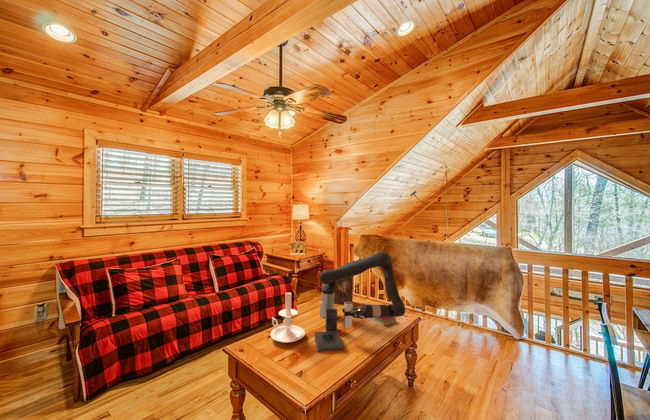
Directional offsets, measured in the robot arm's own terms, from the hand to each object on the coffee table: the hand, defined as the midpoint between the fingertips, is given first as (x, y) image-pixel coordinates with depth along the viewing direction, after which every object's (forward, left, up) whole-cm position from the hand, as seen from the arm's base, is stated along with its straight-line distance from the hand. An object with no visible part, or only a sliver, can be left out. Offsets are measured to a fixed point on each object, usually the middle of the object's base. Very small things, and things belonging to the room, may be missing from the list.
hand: (343, 312), depth 159 cm
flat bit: (-14, +8, -18) cm, 24 cm away
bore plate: (-6, -7, -18) cm, 20 cm away
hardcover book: (+3, +42, -19) cm, 46 cm away
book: (-33, +52, -18) cm, 64 cm away
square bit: (+2, +2, -8) cm, 9 cm away
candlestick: (-31, -16, -18) cm, 39 cm away
